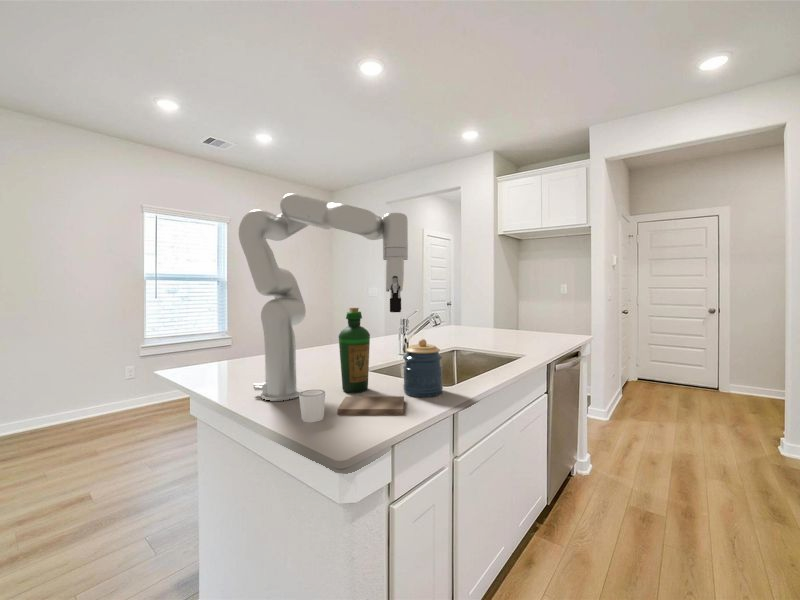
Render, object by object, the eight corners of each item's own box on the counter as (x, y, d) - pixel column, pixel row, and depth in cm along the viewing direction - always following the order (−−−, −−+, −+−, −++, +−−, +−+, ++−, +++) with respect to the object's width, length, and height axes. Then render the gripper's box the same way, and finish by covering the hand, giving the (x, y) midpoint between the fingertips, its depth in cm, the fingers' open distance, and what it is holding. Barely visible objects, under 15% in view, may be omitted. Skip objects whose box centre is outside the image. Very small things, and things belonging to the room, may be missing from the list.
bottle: (364, 395, 120) (362, 308, 119) (334, 393, 123) (332, 308, 122) (375, 386, 130) (374, 307, 129) (347, 385, 133) (346, 307, 132)
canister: (451, 393, 121) (450, 339, 120) (418, 400, 114) (417, 343, 113) (427, 385, 132) (426, 335, 131) (396, 390, 125) (395, 338, 124)
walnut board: (337, 414, 102) (337, 409, 102) (345, 401, 114) (345, 396, 114) (403, 414, 101) (403, 409, 101) (404, 401, 113) (404, 396, 113)
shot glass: (329, 414, 102) (328, 389, 102) (321, 423, 95) (320, 396, 95) (304, 414, 103) (304, 388, 102) (295, 422, 96) (294, 396, 96)
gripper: (384, 257, 121) (384, 309, 122) (381, 252, 104) (381, 313, 104) (407, 257, 121) (407, 309, 122) (408, 251, 104) (408, 313, 104)
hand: (395, 311), depth 113 cm, fingers open, 9 cm apart
